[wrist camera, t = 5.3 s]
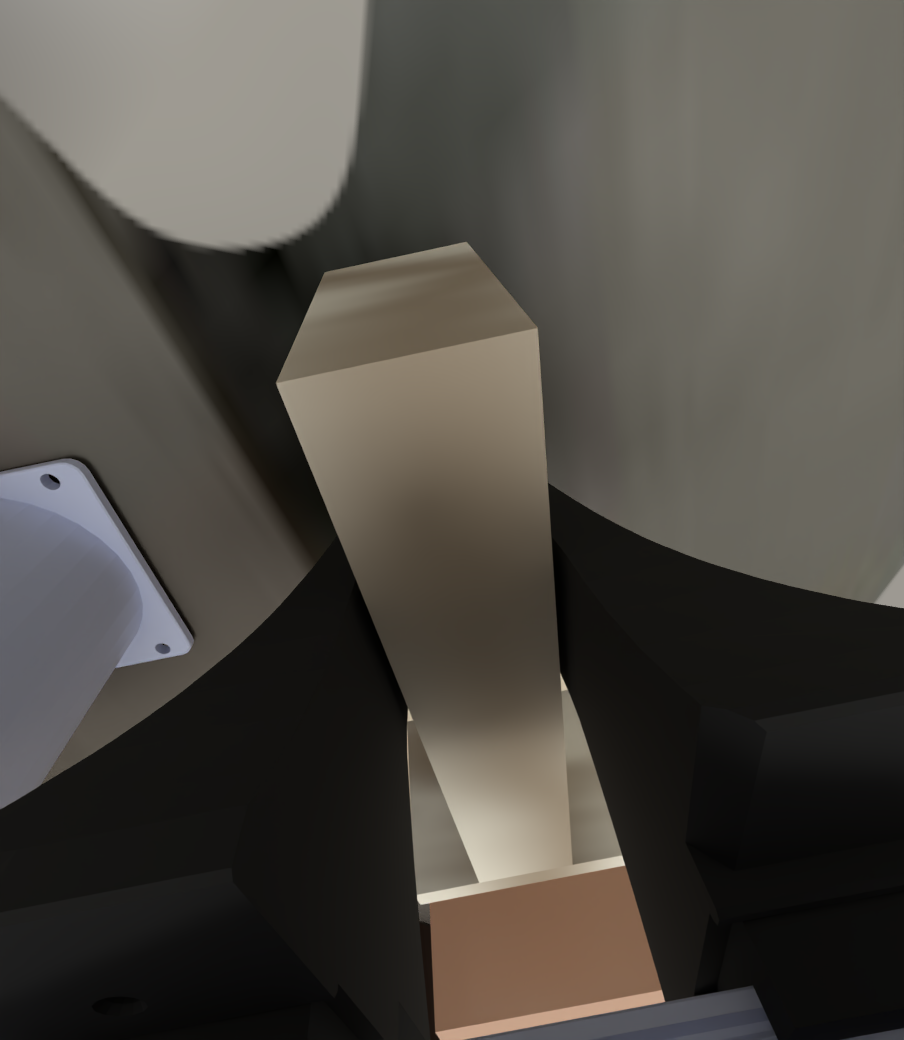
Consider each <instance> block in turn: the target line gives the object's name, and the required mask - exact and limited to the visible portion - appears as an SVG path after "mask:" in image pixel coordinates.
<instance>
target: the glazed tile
mask: <svg viewBox="0 0 904 1040" xmlns="http://www.w3.org/2000/svg"><path fill="white" fill-rule="evenodd" d="M430 924H431V946H432V969H433V992H434V1014H435V1033H436V1034H437V1036H438V1037H439V1039H440V1040H465V1039H470V1038H475V1037H481V1036H486V1035H491V1034H497V1033H502V1032H507V1031H513V1030H518V1029H523V1028H529V1027H534V1026H539V1025H545V1024H550V1023H555V1022H561V1021H566V1020H572V1019H577V1018H582V1017H588V1016H593V1015H598V1014H604V1013H609V1012H614V1011H620V1010H625V1009H630V1008H636V1007H641V1006H646V1005H652V1004H657V1003H662V1002H665V1000H664V996H663V993H662V989H661V985H660V982H659V978H658V975H657V971H656V968H655V965H654V961H653V958H652V954H651V951H650V948H649V944H648V941H647V937H646V934H645V930H644V927H643V924H642V920H641V917H640V913H639V910H638V906H637V903H636V900H635V896H634V893H633V890H632V886H631V883H630V880H629V876H628V873H627V870H626V866H620V867H614V868H609V869H604V870H599V871H594V872H588V873H583V874H578V875H573V876H568V877H562V878H557V879H552V880H547V881H542V882H536V883H531V884H526V885H521V886H516V887H510V888H505V889H500V890H495V891H490V892H484V893H479V894H474V895H469V896H464V897H458V898H453V899H448V900H443V901H438V902H432V903H430Z"/></svg>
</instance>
